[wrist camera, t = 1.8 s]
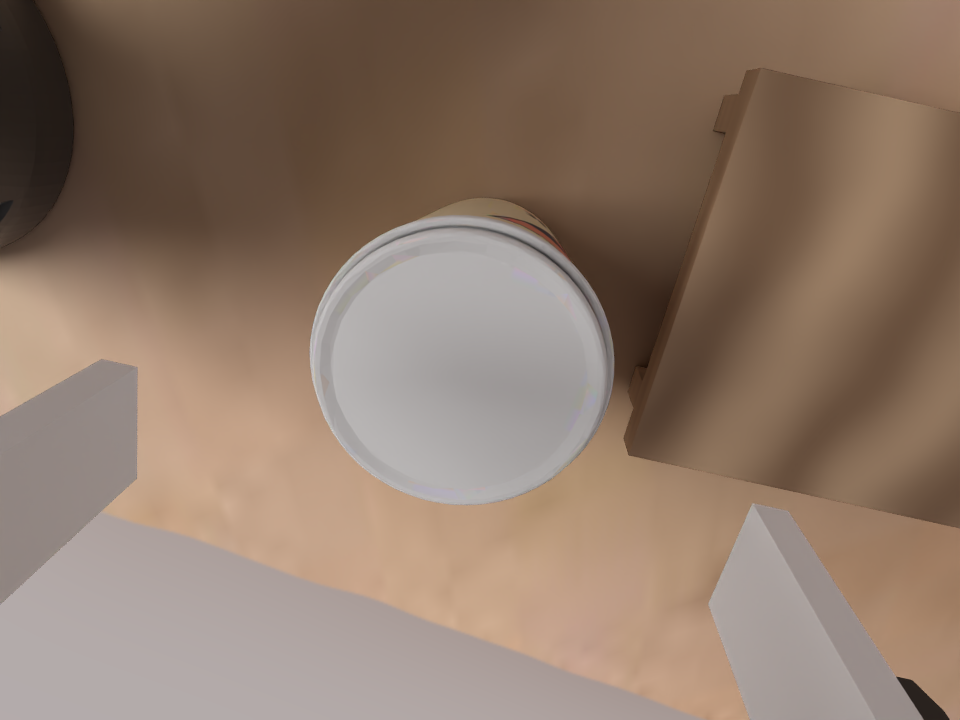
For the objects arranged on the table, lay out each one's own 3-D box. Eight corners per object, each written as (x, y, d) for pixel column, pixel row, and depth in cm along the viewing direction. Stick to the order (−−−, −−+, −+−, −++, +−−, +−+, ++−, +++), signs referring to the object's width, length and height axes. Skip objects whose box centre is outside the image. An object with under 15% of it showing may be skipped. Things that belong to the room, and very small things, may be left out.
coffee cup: (607, 341, 30) (652, 473, 19) (426, 393, 32) (372, 543, 21) (551, 147, 27) (566, 172, 16) (355, 216, 29) (248, 281, 18)
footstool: (612, 399, 32) (628, 455, 26) (715, 76, 26) (761, 67, 21) (904, 464, 32) (977, 532, 27) (1069, 156, 26) (1201, 167, 21)
